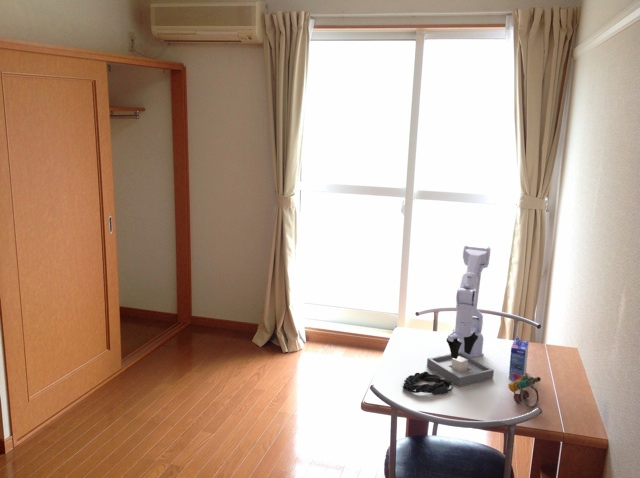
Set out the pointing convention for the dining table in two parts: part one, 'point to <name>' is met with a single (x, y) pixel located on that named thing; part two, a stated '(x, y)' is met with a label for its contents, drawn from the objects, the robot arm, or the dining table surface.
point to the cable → (427, 388)
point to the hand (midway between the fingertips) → (460, 355)
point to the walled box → (472, 375)
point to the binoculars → (524, 393)
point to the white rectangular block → (459, 364)
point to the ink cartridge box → (518, 359)
